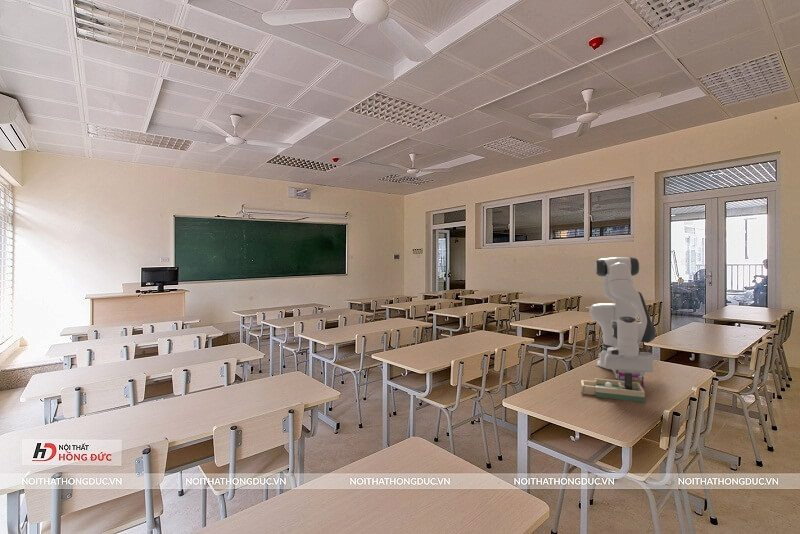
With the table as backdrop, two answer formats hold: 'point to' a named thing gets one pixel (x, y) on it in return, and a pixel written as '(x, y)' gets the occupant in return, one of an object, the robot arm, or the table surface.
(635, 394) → the pitch
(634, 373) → the candy bar box
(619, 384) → the rod
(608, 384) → the ball
